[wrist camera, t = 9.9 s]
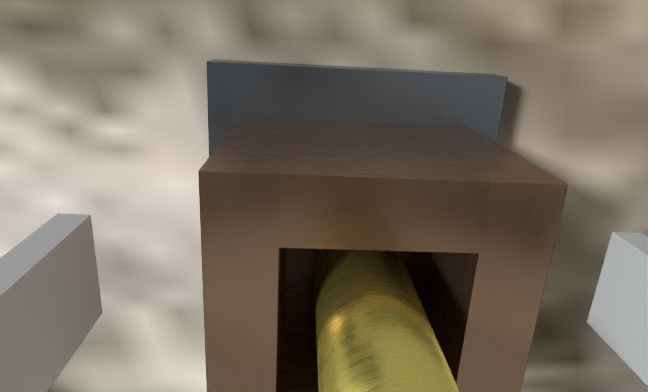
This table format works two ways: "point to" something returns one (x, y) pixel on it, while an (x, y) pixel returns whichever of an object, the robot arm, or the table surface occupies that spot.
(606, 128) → the table surface
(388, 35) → the table surface
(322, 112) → the keeper
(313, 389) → the link
